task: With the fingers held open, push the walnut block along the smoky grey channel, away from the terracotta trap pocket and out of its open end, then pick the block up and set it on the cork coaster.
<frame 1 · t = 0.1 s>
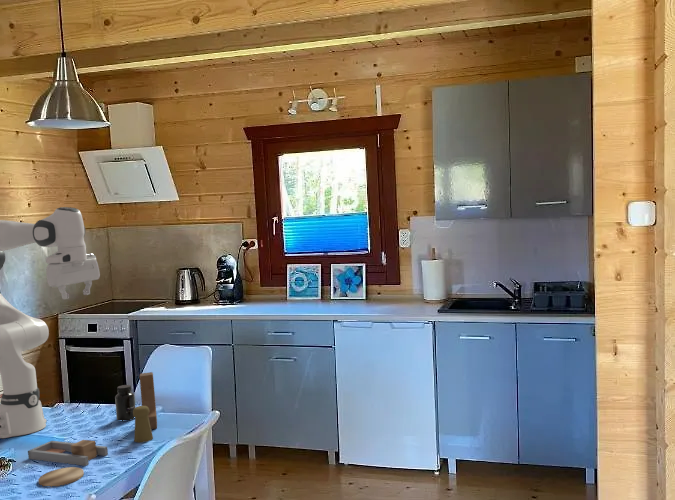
hand: (76, 296, 228), 48 cm above the table, tool pointing down, fingers open, 8 cm apart
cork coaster: (61, 478, 195), on the table
supplement bottle: (126, 419, 249), on the table
walnut block: (84, 458, 210), resting in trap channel
wooden block: (150, 426, 238), on the table
pepper shaker: (143, 439, 224), on the table
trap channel: (67, 456, 213), on the table
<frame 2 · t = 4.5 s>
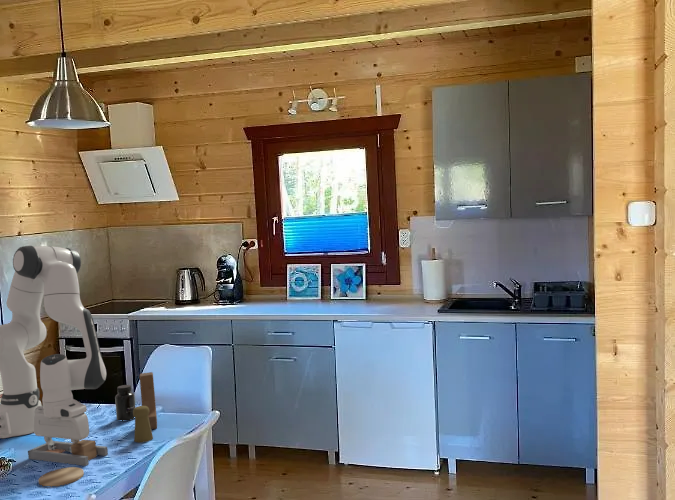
hand: (62, 450, 213), 2 cm above the table, tool pointing down, fingers open, 8 cm apart
walnut block: (84, 458, 210), resting in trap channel, touching gripper
everything else where it was.
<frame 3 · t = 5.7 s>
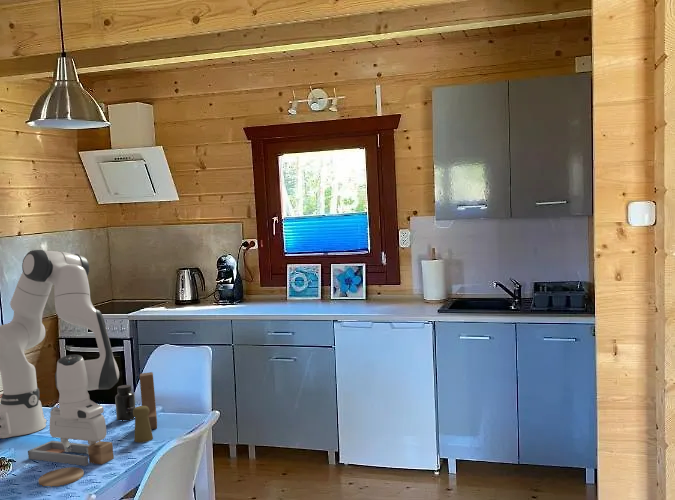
hand: (79, 452, 210), 2 cm above the table, tool pointing down, fingers open, 8 cm apart
walnut block: (101, 460, 207), on the table, touching gripper
everything else where it was.
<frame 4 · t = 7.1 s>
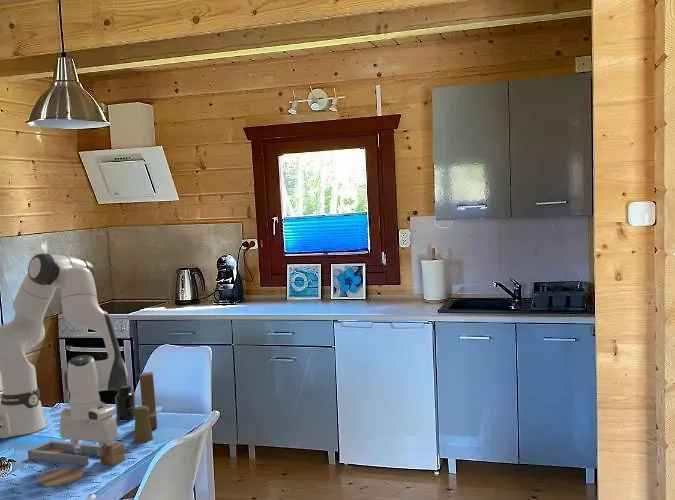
hand: (90, 454, 208), 2 cm above the table, tool pointing down, fingers open, 8 cm apart
walnut block: (112, 462, 205), on the table, touching gripper
everything else where it was.
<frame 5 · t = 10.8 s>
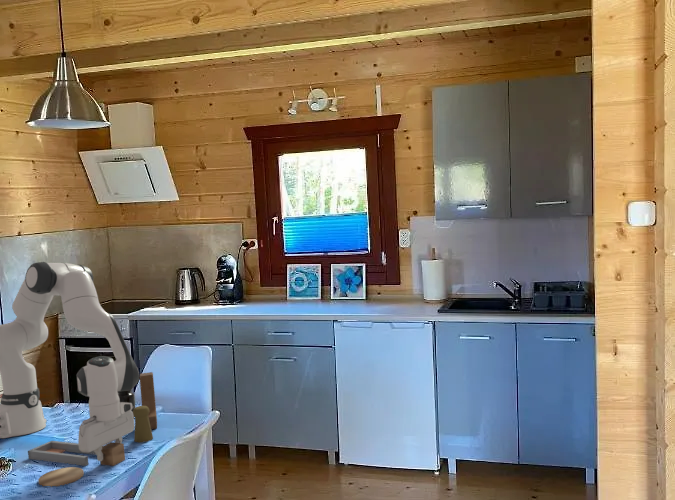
hand: (109, 456, 205), 2 cm above the table, tool pointing down, fingers closed on walnut block, 5 cm apart
walnut block: (112, 461, 205), on the table, touching gripper
everything else where it was.
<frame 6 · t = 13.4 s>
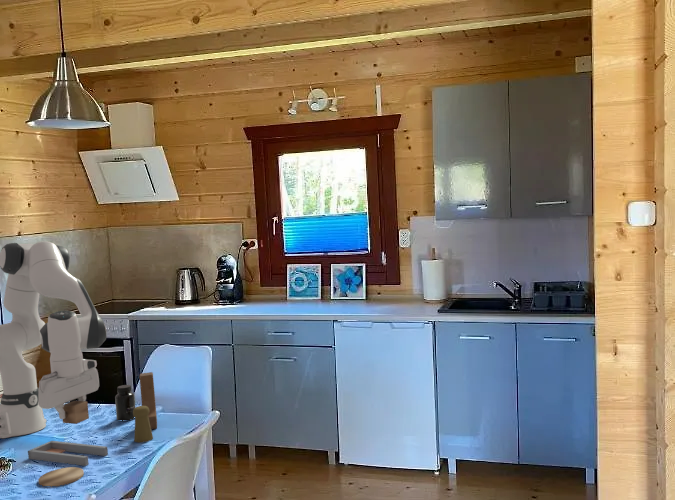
hand: (72, 414, 197), 17 cm above the table, tool pointing down, fingers closed on walnut block, 5 cm apart
walnut block: (76, 420, 197), point 16 cm above the table, touching gripper
everything else where it was.
when the fingers open (4 cm above the table, at t = 15.9 s): walnut block drops 2 cm, resting on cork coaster.
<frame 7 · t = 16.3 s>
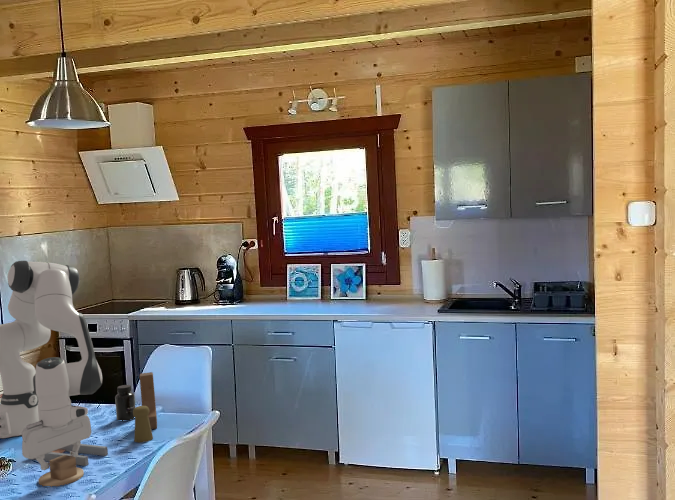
hand: (60, 463, 195), 4 cm above the table, tool pointing down, fingers open, 8 cm apart
walnut block: (63, 476, 194), point 1 cm above the table, touching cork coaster
everything else where it was.
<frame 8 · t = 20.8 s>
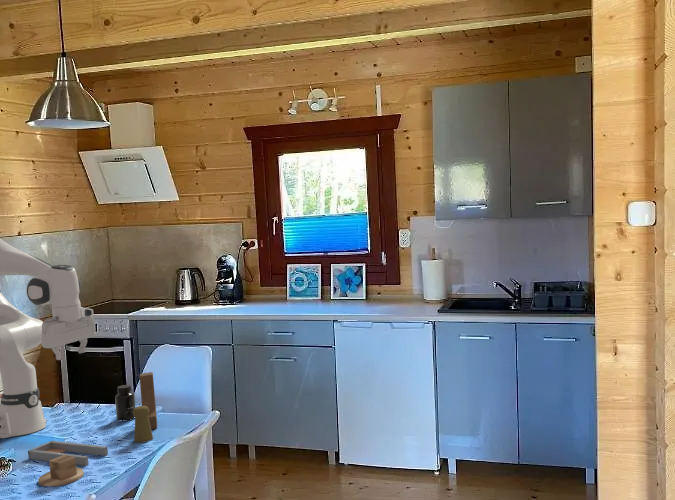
hand: (71, 356, 223), 29 cm above the table, tool pointing down, fingers open, 8 cm apart
nothing on the table moved.
at the end: walnut block 1.2 cm off-centre on the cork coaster, point 0.8 cm above the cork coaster's base; walnut block tilted 0°; the gripper is holding nothing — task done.
